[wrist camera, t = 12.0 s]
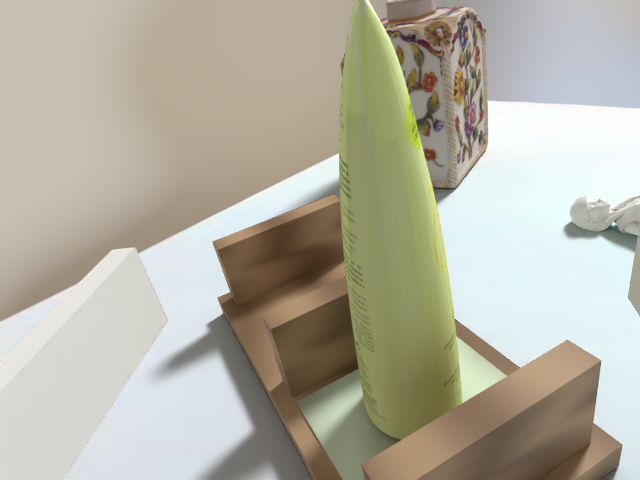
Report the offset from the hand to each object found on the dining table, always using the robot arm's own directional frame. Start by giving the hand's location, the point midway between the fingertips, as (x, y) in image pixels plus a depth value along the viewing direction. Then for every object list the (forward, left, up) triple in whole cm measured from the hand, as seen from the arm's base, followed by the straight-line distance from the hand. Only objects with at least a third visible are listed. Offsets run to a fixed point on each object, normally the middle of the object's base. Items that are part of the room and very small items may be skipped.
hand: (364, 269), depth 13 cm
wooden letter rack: (-4, -10, -14) cm, 18 cm away
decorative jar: (-26, -33, -15) cm, 44 cm away
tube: (-4, -5, -13) cm, 14 cm away
